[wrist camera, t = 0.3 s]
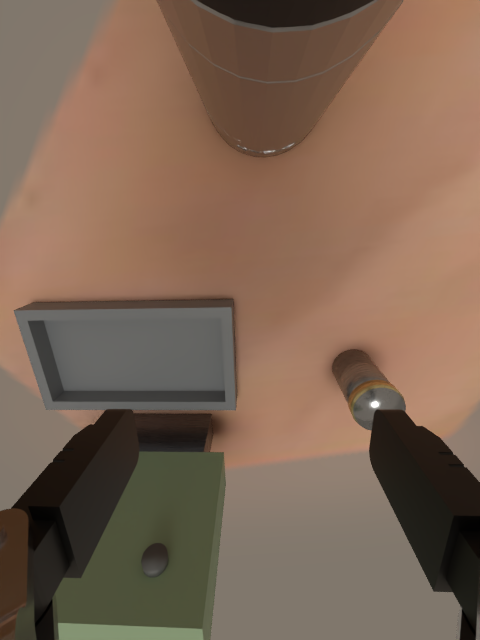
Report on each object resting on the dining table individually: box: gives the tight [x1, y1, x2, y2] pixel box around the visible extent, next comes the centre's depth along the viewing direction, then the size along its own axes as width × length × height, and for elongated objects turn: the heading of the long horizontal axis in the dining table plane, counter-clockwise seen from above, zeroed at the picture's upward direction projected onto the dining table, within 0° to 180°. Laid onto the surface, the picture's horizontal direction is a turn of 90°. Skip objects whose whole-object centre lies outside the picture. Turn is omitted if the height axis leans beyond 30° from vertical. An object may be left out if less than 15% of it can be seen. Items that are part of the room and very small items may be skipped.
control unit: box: [55, 414, 226, 640], centre depth 25 cm, size 5×14×18 cm, turn 92°
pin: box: [332, 350, 406, 430], centre depth 26 cm, size 4×4×7 cm
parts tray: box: [14, 299, 237, 410], centre depth 29 cm, size 11×20×2 cm, turn 92°
